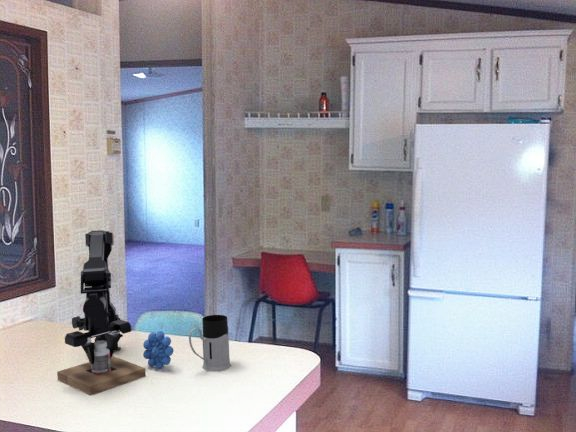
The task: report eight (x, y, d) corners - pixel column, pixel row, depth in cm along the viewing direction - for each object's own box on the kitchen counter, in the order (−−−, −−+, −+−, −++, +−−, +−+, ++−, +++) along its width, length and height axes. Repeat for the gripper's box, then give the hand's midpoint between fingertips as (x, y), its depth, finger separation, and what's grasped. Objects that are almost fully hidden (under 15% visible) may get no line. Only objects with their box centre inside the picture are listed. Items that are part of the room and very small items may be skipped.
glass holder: (237, 365, 199) (235, 317, 198) (200, 379, 189) (198, 328, 187) (218, 359, 205) (216, 312, 204) (181, 372, 195) (179, 323, 193)
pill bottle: (113, 375, 191) (111, 342, 190) (95, 379, 188) (93, 346, 187) (107, 370, 196) (105, 338, 194) (89, 374, 193) (87, 341, 191)
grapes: (183, 367, 199) (181, 329, 197) (168, 375, 193) (166, 335, 191) (154, 361, 205) (152, 324, 203) (139, 368, 199) (136, 330, 198)
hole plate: (111, 363, 205) (111, 355, 204) (145, 376, 192) (145, 368, 192) (57, 379, 191) (57, 371, 191) (90, 395, 179) (90, 386, 179)
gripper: (110, 298, 202) (113, 347, 204) (53, 311, 188) (57, 364, 190) (131, 304, 194) (134, 355, 196) (73, 318, 181) (77, 373, 183)
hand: (100, 361), depth 191 cm, fingers closed on pill bottle, 5 cm apart
